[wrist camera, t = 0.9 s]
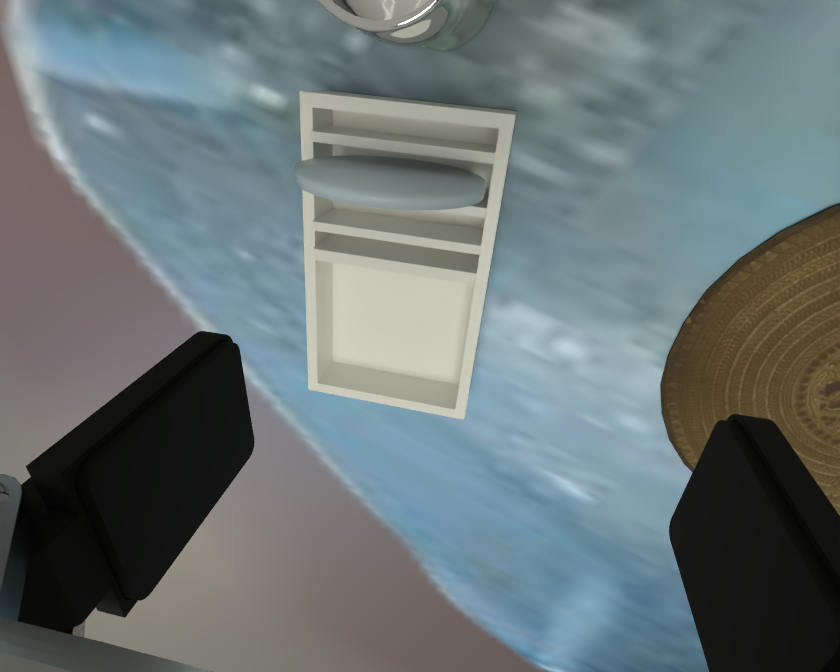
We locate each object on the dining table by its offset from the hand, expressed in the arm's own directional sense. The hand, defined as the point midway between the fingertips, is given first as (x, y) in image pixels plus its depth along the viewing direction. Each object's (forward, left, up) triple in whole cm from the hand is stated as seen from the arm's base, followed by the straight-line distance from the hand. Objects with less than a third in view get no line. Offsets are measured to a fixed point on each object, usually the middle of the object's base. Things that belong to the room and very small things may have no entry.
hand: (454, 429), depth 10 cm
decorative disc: (+10, +29, -28) cm, 42 cm away
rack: (+6, -7, -27) cm, 29 cm away
